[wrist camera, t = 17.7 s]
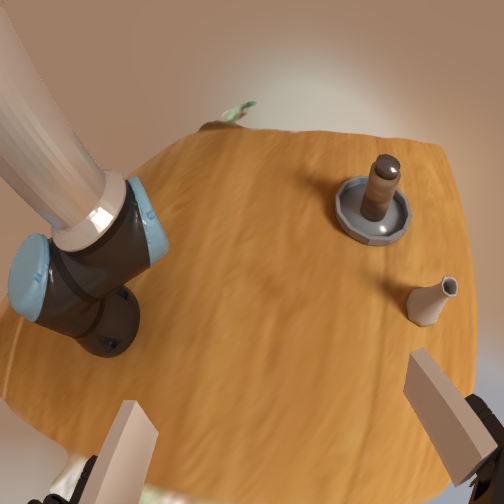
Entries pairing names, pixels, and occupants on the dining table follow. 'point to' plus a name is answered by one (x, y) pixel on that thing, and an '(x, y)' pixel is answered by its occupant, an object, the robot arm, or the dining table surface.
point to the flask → (430, 301)
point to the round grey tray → (360, 227)
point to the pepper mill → (380, 187)
